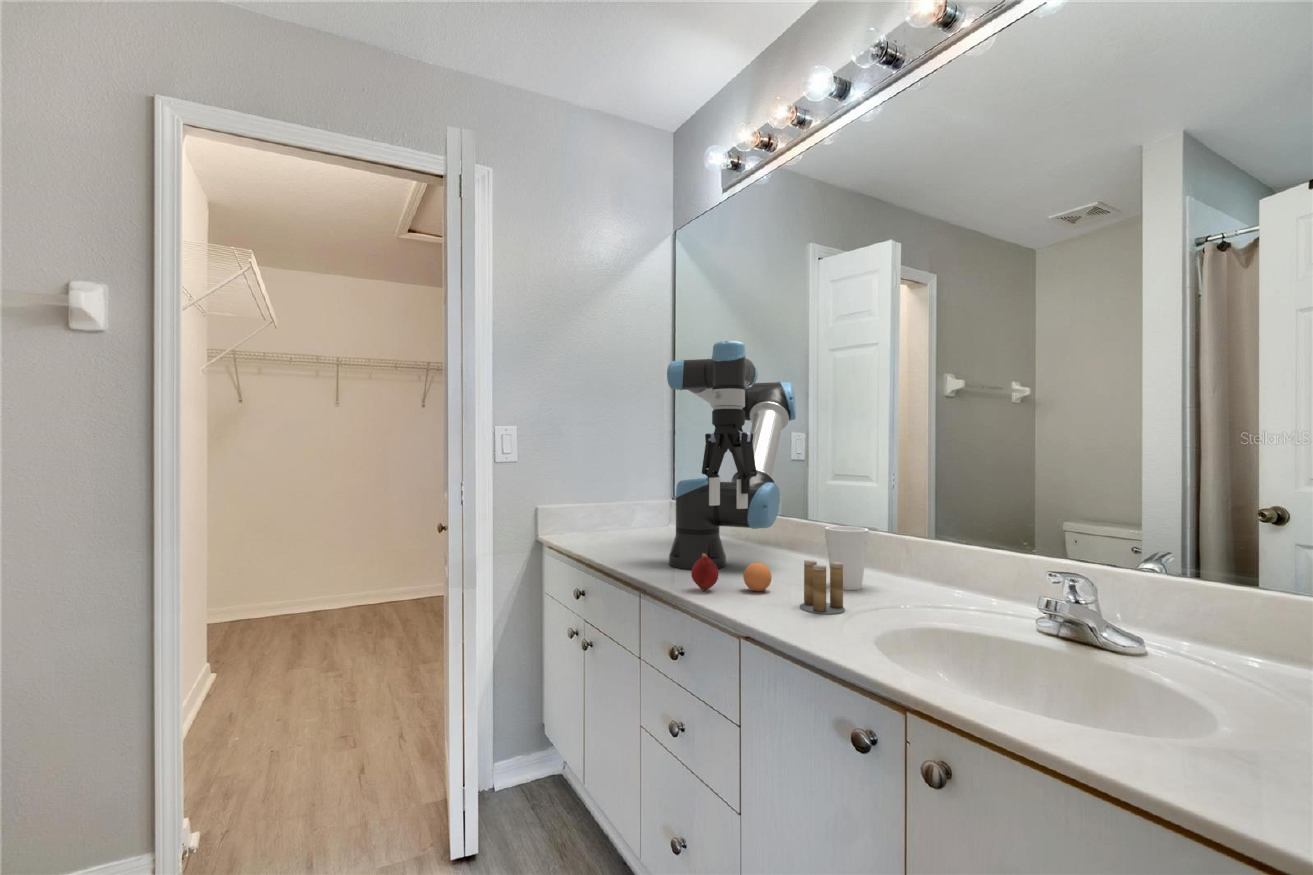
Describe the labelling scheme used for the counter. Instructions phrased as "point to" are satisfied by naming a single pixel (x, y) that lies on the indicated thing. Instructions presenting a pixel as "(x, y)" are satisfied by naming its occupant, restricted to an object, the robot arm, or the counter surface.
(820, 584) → the pin
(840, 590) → the pin
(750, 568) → the ball
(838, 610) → the pin spot
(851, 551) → the foam cup
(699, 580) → the onion
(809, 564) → the pin front
